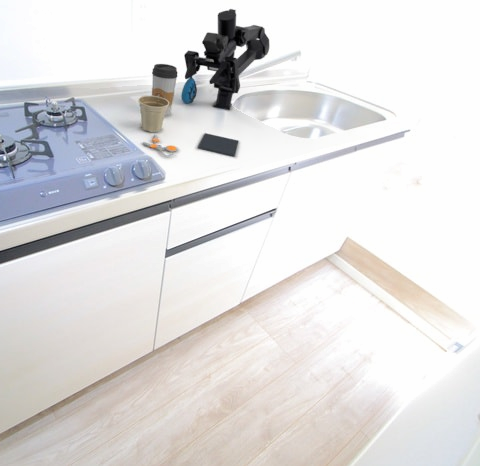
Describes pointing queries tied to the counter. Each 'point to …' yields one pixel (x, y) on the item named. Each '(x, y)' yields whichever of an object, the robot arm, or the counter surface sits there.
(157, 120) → the flower pot
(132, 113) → the counter surface
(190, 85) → the ornament
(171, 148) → the key chain
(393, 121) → the counter surface
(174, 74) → the coffee cup
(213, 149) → the mat
